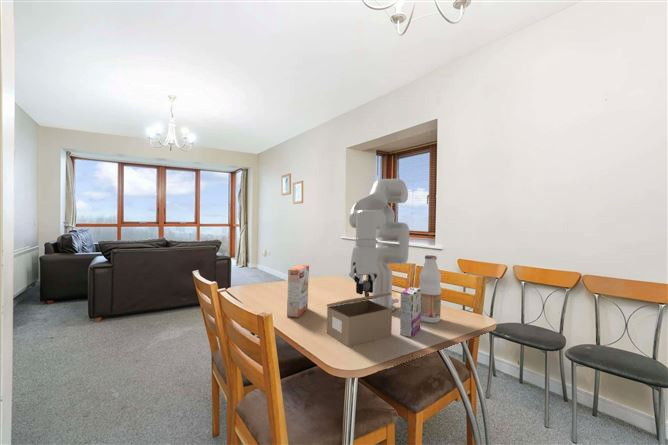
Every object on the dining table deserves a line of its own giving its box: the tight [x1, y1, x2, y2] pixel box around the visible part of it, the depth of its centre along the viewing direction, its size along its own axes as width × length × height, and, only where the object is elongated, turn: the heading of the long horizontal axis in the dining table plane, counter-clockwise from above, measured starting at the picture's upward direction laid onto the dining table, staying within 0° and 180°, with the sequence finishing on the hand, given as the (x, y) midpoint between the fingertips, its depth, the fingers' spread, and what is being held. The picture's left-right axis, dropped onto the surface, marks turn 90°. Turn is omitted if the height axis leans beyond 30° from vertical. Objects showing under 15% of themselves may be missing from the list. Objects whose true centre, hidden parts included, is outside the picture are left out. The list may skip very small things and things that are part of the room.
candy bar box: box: [399, 286, 422, 338], centre depth 118 cm, size 11×5×16 cm, turn 148°
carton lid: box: [326, 279, 391, 307], centre depth 116 cm, size 20×14×7 cm
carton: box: [326, 299, 393, 348], centre depth 115 cm, size 20×14×10 cm
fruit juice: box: [418, 254, 442, 324], centre depth 133 cm, size 9×9×28 cm
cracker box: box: [286, 264, 310, 318], centre depth 138 cm, size 14×6×21 cm, turn 168°
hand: (364, 292), depth 112 cm, fingers closed on carton lid, 4 cm apart
